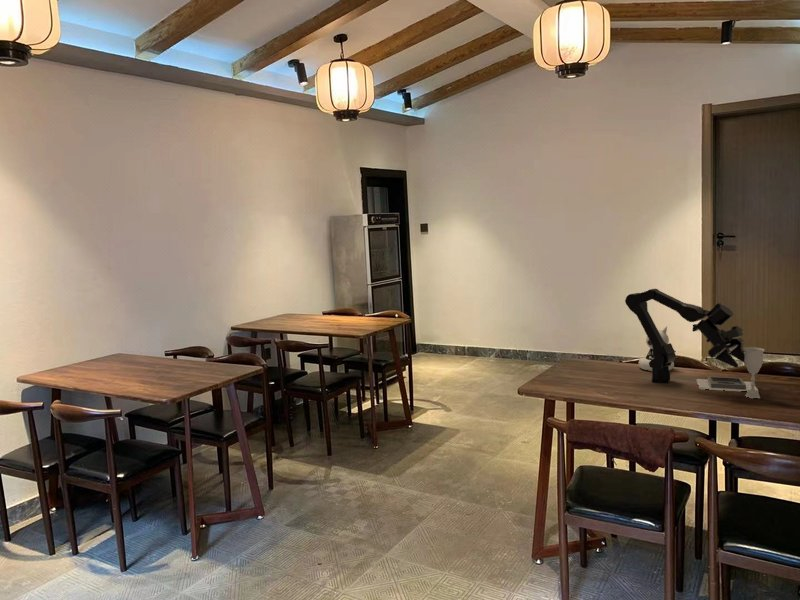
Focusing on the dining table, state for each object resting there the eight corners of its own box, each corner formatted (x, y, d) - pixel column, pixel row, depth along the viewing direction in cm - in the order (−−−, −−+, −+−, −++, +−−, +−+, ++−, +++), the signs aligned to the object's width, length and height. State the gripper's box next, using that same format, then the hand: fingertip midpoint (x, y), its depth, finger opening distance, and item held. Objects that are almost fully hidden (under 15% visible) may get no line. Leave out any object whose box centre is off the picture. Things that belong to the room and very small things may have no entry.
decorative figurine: (633, 370, 270) (634, 326, 268) (644, 364, 281) (644, 322, 279) (668, 374, 260) (669, 329, 258) (678, 367, 271) (678, 324, 269)
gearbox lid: (699, 389, 234) (699, 383, 234) (696, 380, 247) (696, 375, 247) (758, 392, 227) (758, 386, 227) (751, 383, 240) (752, 378, 240)
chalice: (766, 399, 217) (768, 351, 216) (746, 399, 219) (747, 351, 217) (758, 394, 225) (760, 347, 223) (739, 394, 226) (740, 347, 224)
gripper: (717, 322, 220) (749, 355, 212) (738, 316, 232) (769, 348, 224) (695, 341, 227) (725, 374, 219) (717, 334, 238) (746, 365, 231)
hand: (742, 364), depth 223 cm, fingers open, 9 cm apart
